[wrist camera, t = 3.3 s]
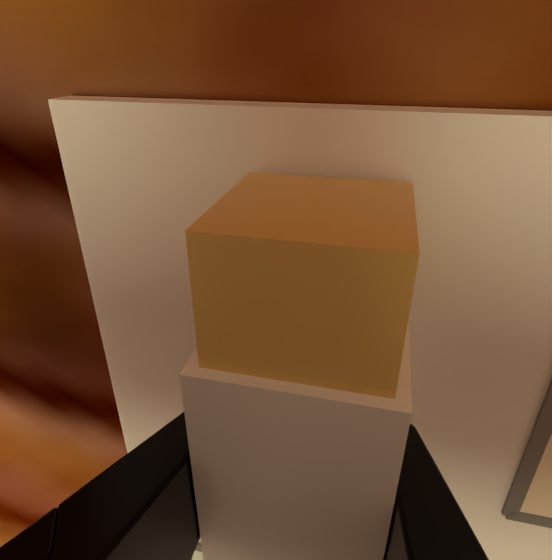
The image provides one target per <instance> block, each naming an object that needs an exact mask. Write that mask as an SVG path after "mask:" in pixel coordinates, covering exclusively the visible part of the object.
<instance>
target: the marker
mask: <svg viewBox="0 0 552 560" xmlns="http://www.w3.org/2000/svg"><path fill="white" fill-rule="evenodd" d="M185 235H186V245H187V255H188V264H189V274H190V284H191V294H192V303H193V313H194V323H195V333H196V342H197V348H196V350H195V351H194V353H193V354H192V356H191V357H190V359H189V360H188V362H187V363H186V365H185V367H184V368H183V370H182V371H181V373H180V374H179V376H180V384H181V391H182V399H183V407H184V414H185V422H186V430H187V437H188V445H189V453H190V460H191V468H192V476H193V483H194V491H195V499H196V506H197V514H198V522H199V529H200V537H201V545H202V552H203V560H383V558H384V553H385V548H386V543H387V538H388V533H389V528H390V522H391V517H392V512H393V507H394V502H395V497H396V492H397V487H398V482H399V477H400V472H401V467H402V462H403V456H404V451H405V446H406V441H407V436H408V431H409V426H410V421H411V416H412V400H411V372H410V344H409V313H410V307H411V301H412V295H413V289H414V283H415V277H416V272H417V266H418V260H419V254H420V252H419V242H418V232H417V221H416V211H415V201H414V190H413V183H403V182H388V181H373V180H357V179H342V178H327V177H312V176H296V175H281V174H266V173H251V172H249V173H248V174H247V175H246V176H245V177H244V178H243V179H242V180H240V181H239V182H238V183H237V184H236V185H235V186H234V187H233V188H232V189H230V190H229V191H228V192H227V193H226V194H225V195H224V196H223V197H222V198H221V199H219V200H218V201H217V202H216V203H215V204H214V205H213V206H212V207H211V208H210V209H208V210H207V211H206V212H205V213H204V214H203V215H202V216H201V217H200V218H198V219H197V220H196V221H195V222H194V223H193V224H192V225H191V226H190V227H189V228H187V229H186V230H185Z"/></svg>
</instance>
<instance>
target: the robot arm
mask: <svg viewBox="0 0 552 560" xmlns="http://www.w3.org/2000/svg"><path fill="white" fill-rule="evenodd" d="M199 539H200V529H199V522H198V514H197V506H196V499H195V491H194V483H193V476H192V468H191V460H190V453H189V445H188V437H187V430H186V422H185V414H184V412H182V413H181V414H180V415H178V416H177V417H176V418H174V419H173V420H172V421H170V422H169V423H168V424H166V425H165V426H164V427H162V428H161V429H160V430H158V431H157V432H156V433H154V434H153V435H152V436H150V437H149V438H148V439H146V440H145V441H144V442H142V443H141V444H140V445H138V446H137V447H136V448H134V449H133V450H132V451H130V452H129V453H127V454H126V455H125V456H123V457H122V458H121V459H119V460H118V461H117V462H115V463H114V464H113V465H111V466H110V467H109V468H107V469H106V470H105V471H103V472H102V473H101V474H99V475H98V476H97V477H95V478H94V479H93V480H91V481H90V482H89V483H87V484H86V485H85V486H83V487H82V488H81V489H79V490H78V491H77V492H75V493H74V494H73V495H71V496H70V497H69V498H67V499H66V500H65V501H63V502H62V503H61V504H59V507H58V508H54V509H52V510H51V511H50V512H48V513H47V514H46V515H44V516H43V517H41V518H40V519H39V520H37V521H36V522H35V523H33V524H32V525H31V526H29V527H28V528H26V529H25V530H24V531H22V532H21V533H19V534H18V535H17V536H15V537H14V538H12V539H11V540H10V541H8V542H7V543H5V544H4V545H3V546H1V547H0V560H191V559H192V556H193V554H194V551H195V549H196V547H197V544H198V542H199ZM383 560H489V559H488V557H487V555H486V553H485V552H484V550H483V548H482V546H481V544H480V543H479V541H478V539H477V537H476V535H475V534H474V532H473V530H472V528H471V526H470V525H469V523H468V521H467V519H466V517H465V516H464V514H463V512H462V510H461V508H460V507H459V505H458V503H457V501H456V499H455V498H454V496H453V494H452V492H451V490H450V488H449V487H448V485H447V483H446V481H445V479H444V478H443V476H442V474H441V472H440V470H439V469H438V467H437V465H436V463H435V461H434V460H433V458H432V456H431V454H430V452H429V451H428V449H427V447H426V445H425V443H424V442H423V440H422V438H421V436H420V434H419V433H418V431H417V429H416V427H415V426H414V425H413V424H410V426H409V431H408V436H407V441H406V446H405V451H404V456H403V462H402V467H401V472H400V477H399V482H398V487H397V492H396V497H395V502H394V507H393V512H392V517H391V522H390V528H389V533H388V538H387V543H386V548H385V553H384V558H383Z"/></svg>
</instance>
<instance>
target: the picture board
mask: <svg viewBox="0 0 552 560" xmlns="http://www.w3.org/2000/svg"><path fill="white" fill-rule="evenodd" d="M48 103H49V107H50V111H51V116H52V120H53V125H54V129H55V134H56V138H57V143H58V147H59V151H60V156H61V160H62V165H63V169H64V174H65V178H66V182H67V187H68V191H69V196H70V200H71V205H72V209H73V214H74V218H75V222H76V227H77V231H78V236H79V240H80V245H81V249H82V253H83V258H84V262H85V267H86V271H87V276H88V280H89V285H90V289H91V293H92V298H93V302H94V307H95V311H96V316H97V320H98V325H99V329H100V333H101V338H102V342H103V347H104V351H105V356H106V360H107V364H108V369H109V373H110V378H111V382H112V387H113V391H114V396H115V400H116V404H117V409H118V413H119V418H120V422H121V427H122V431H123V435H124V440H125V444H126V449H127V453H129V452H130V451H132V450H133V449H134V448H136V447H137V446H138V445H140V444H141V443H142V442H144V441H145V440H146V439H148V438H149V437H150V436H152V435H153V434H154V433H156V432H157V431H158V430H160V429H161V428H162V427H164V426H165V425H166V424H168V423H169V422H170V421H172V420H173V419H174V418H176V417H177V416H178V415H180V414H181V413H182V412H184V407H183V399H182V391H181V384H180V376H179V374H180V373H181V371H182V370H183V368H184V367H185V365H186V363H187V362H188V360H189V359H190V357H191V356H192V354H193V353H194V351H195V350H196V348H197V342H196V333H195V323H194V313H193V303H192V294H191V284H190V274H189V264H188V255H187V245H186V235H185V230H186V229H187V228H189V227H190V226H191V225H192V224H193V223H194V222H195V221H196V220H197V219H198V218H200V217H201V216H202V215H203V214H204V213H205V212H206V211H207V210H208V209H210V208H211V207H212V206H213V205H214V204H215V203H216V202H217V201H218V200H219V199H221V198H222V197H223V196H224V195H225V194H226V193H227V192H228V191H229V190H230V189H232V188H233V187H234V186H235V185H236V184H237V183H238V182H239V181H240V180H242V179H243V178H244V177H245V176H246V175H247V174H248V173H249V172H251V173H266V174H281V175H296V176H312V177H327V178H342V179H357V180H373V181H388V182H403V183H413V190H414V201H415V211H416V221H417V232H418V242H419V252H420V254H419V260H418V266H417V272H416V277H415V283H414V289H413V295H412V301H411V307H410V313H409V344H410V372H411V400H412V416H411V421H410V424H413V425H414V426H415V427H416V429H417V431H418V433H419V434H420V436H421V438H422V440H423V442H424V443H425V445H426V447H427V449H428V451H429V452H430V454H431V456H432V458H433V460H434V461H435V463H436V465H437V467H438V469H439V470H440V472H441V474H442V476H443V478H444V479H445V481H446V483H447V485H448V487H449V488H450V490H451V492H452V494H453V496H454V498H455V499H456V501H457V503H458V505H459V507H460V508H461V510H462V512H463V514H464V516H465V517H466V519H467V521H468V523H469V525H470V526H471V528H472V530H473V532H474V534H475V535H476V537H477V539H478V541H479V543H480V544H481V546H482V548H483V550H484V552H485V553H486V555H487V557H488V559H489V560H552V111H544V110H513V109H481V108H450V107H418V106H386V105H355V104H323V103H291V102H260V101H228V100H197V99H165V98H133V97H102V96H70V95H69V96H63V97H58V98H52V99H48ZM191 560H203V552H202V545H201V537H200V539H199V542H198V544H197V547H196V549H195V551H194V554H193V556H192V559H191Z"/></svg>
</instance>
